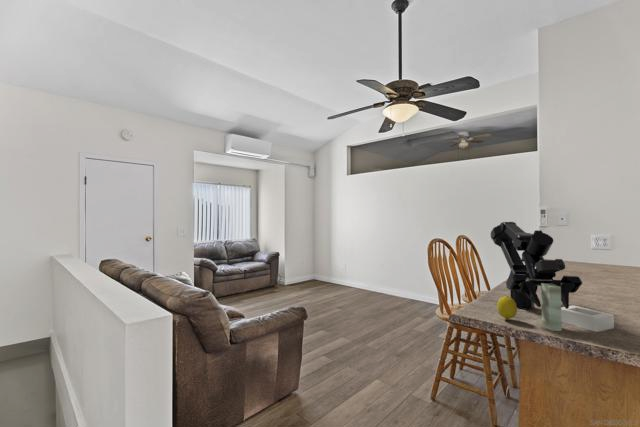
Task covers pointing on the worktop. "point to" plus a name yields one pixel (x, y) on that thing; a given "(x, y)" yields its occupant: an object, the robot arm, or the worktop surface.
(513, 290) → the robot arm
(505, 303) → the lemon
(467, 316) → the worktop surface
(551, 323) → the slat
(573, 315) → the white rectangular frame
